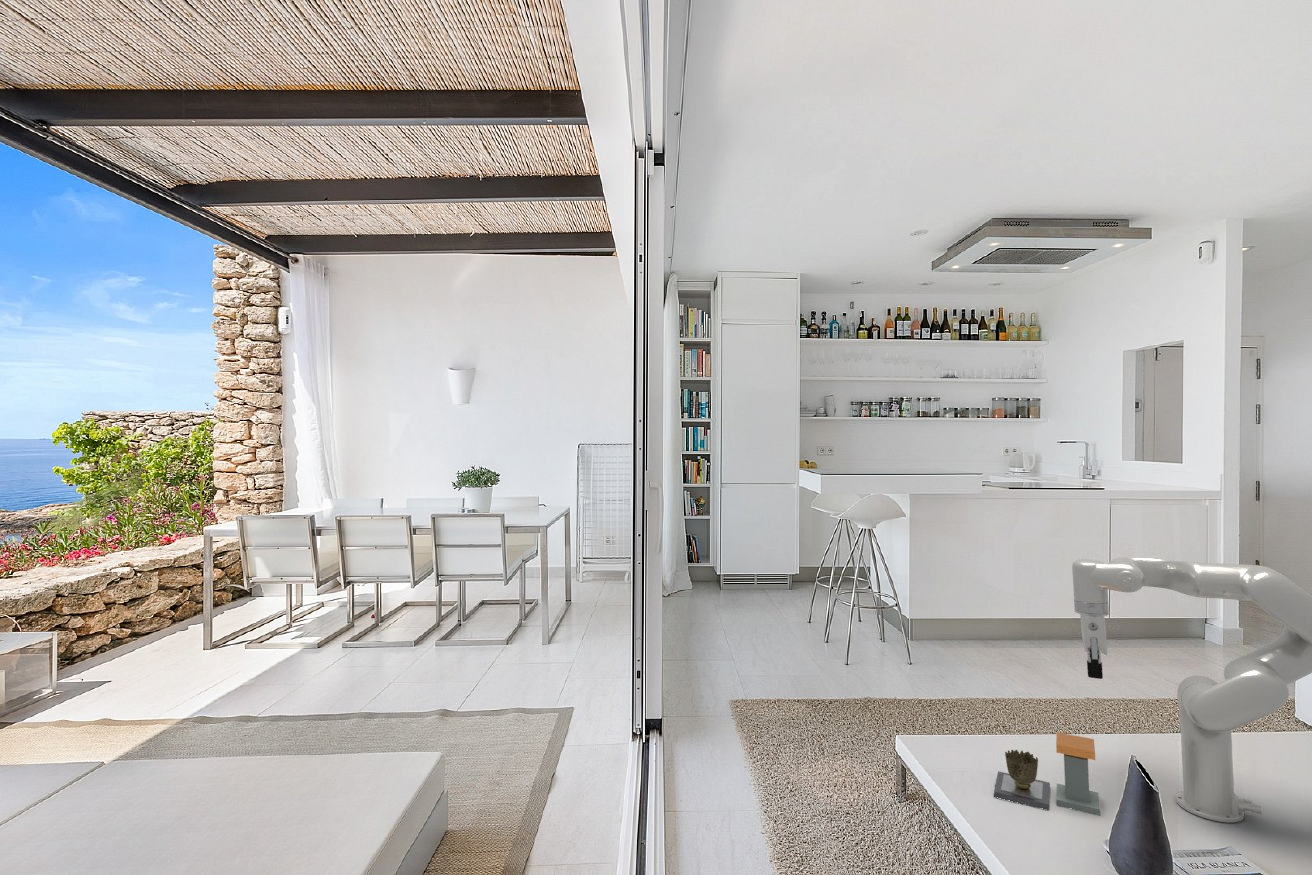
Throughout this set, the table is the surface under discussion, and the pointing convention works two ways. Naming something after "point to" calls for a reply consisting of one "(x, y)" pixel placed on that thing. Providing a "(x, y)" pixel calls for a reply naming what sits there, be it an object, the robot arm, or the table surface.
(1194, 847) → the table surface
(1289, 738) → the table surface
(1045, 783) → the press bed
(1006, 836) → the table surface
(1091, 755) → the handle
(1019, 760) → the wire cup brush
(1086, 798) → the press stand
